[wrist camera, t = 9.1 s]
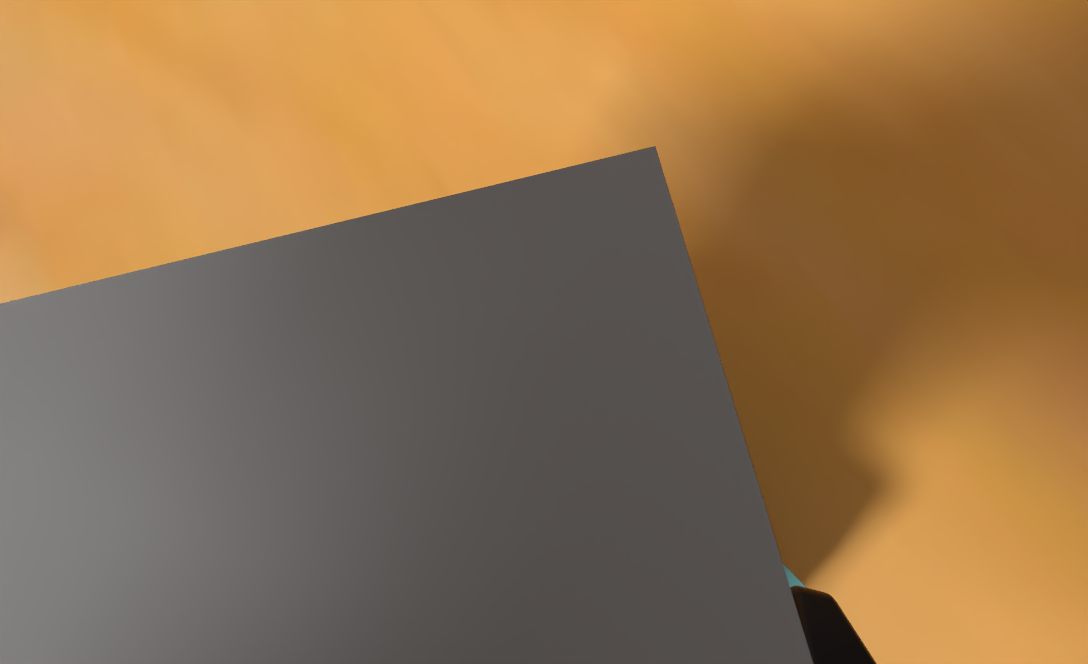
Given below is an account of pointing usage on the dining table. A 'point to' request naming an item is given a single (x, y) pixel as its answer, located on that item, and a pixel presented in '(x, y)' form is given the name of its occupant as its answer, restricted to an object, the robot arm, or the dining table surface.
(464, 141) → the dining table surface
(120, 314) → the grey pillar block
